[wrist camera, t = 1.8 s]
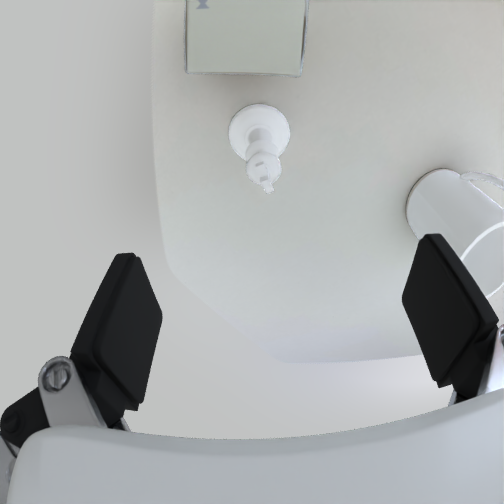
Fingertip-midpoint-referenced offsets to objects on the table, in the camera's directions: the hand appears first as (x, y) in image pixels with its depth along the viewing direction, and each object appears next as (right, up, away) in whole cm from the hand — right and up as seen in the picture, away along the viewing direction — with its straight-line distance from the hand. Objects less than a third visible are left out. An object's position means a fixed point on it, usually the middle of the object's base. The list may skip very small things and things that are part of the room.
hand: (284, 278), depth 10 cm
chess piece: (-1, +10, +13) cm, 17 cm away
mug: (+18, +7, +16) cm, 25 cm away
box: (-2, +17, +9) cm, 19 cm away
